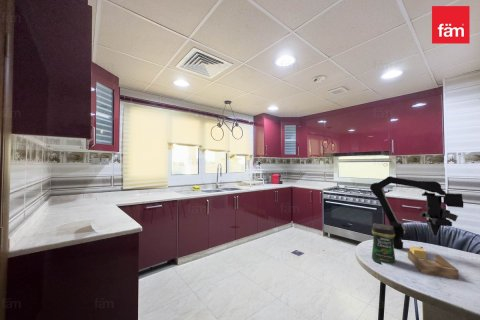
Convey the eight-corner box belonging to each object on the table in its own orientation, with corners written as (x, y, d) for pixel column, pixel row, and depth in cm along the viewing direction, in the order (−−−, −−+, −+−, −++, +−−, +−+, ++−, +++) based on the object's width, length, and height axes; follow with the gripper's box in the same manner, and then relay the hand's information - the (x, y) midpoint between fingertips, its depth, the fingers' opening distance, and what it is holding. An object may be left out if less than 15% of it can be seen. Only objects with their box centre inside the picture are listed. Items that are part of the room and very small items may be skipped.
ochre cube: (414, 259, 103) (414, 250, 103) (409, 255, 107) (409, 246, 108) (426, 261, 101) (426, 251, 101) (421, 257, 106) (421, 247, 106)
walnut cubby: (421, 275, 88) (421, 264, 88) (407, 259, 102) (407, 250, 102) (458, 281, 83) (458, 270, 83) (438, 264, 98) (438, 254, 98)
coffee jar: (371, 262, 100) (371, 224, 101) (372, 256, 107) (371, 221, 107) (396, 267, 95) (395, 228, 95) (395, 261, 101) (394, 224, 102)
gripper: (466, 210, 93) (467, 243, 93) (444, 203, 110) (445, 231, 110) (435, 208, 98) (436, 240, 97) (418, 201, 115) (419, 229, 114)
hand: (435, 235), depth 105 cm, fingers closed
